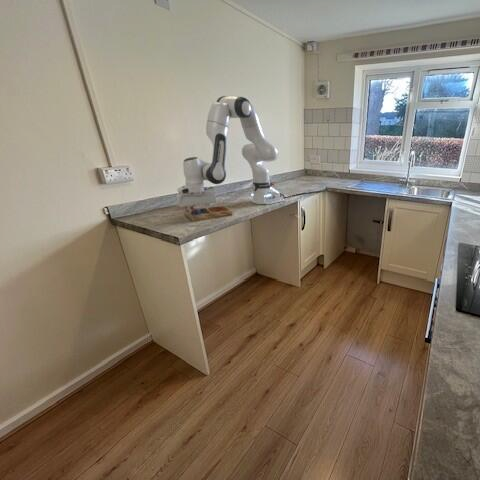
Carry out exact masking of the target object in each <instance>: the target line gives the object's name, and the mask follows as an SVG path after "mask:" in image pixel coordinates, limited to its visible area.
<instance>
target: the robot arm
mask: <svg viewBox="0 0 480 480" xmlns="http://www.w3.org/2000/svg"><path fill="white" fill-rule="evenodd" d="M207 114H208V115H207V119H206V125H205V133H206V136H207V137H208V139H209V140H210V141H211V144H212V147H213V150H212V157H211V162H208V161H205V160H202V159H201V158H199V157H197V156H192V157H191V156H190V157H188V158H184V160H183V164H182V167H183V176H184V178H185V184H184V185H182V186H179V187H177V188H176V190H177V192H178V193H176V205H177V206H178V207H180V208H184V207H185V208H186V209H187V210H189V213H190V214H192V213H193V210H190V209H189V208H190V206H193V207H195V206H202V205H206V206H205V207H203V208H204V209H205V212H206V211H208V208H209V207H210V204H216V203H217V196H216V188H215V187H213V186H205V185H204V181H206V182H207V181H208V182H210V183H211V184H214V185H220V184H223V182H225V180H226V177H227V171H226V156H227V155H226V154H227V143H228V141H227V140H228V132H229V127H230V120H231V119H239V120H240V124H241V128H242V131H243V133H244V136H245V138H246V140H247V141H248V142H250V143H247V144H244V145H242V148H241V155H242V157H243V159H245V160H246V161H247V163H248V164H249V166H250V169H251V173H252V190H253V193H251V194H250V195H251V196H252V201H251V202H252V203H253V204H257V205H272V204H277V203H283V202H284V201H285V200H284V199H289V198H291V197H295V196H300V195H306V194H313V193H314V194H315V193H322V192H326V191H327V190H326V189H325V188H323V189H321V190H316V191H315V190H314V191H307V192H308V193H306V192H300V193H301V194H300V193H296V195H295V194H292V196H291V195H287V196H285V195H284V194H282V193H281V192H280V191H279V190H277V189H276V188H274V187H273V186H275V185H276V184H275V182H271V181H270V171H269V169H268V168H267V167H266V166H264V164H263V162H265V163H270V162H275V161H276V160H277V159H278V156H279V151H278V149H277V147H276V146H275V145H273V144H272V143H271V142H270V140H268V138H266V136H265V134H264V132H263V128H262V125H261V122H260V119H259V117H258V114H257V111H256V109H255V107H254V106H253V105H252V104H251V102H250V100H249V99H248V98H246V97H244V96H238V95H222V96H219V97H218V99H217V100H216V102H213V103H212V104H211V106H210V109H209V112H208V113H207ZM194 205H195V206H194Z"/></svg>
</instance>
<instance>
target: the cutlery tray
mask: <svg viewBox="0 0 480 480" xmlns="http://www.w3.org/2000/svg"><path fill="white" fill-rule="evenodd" d="M204 208H205V207H201V208H198V209H199V210H201V213H203V214H202V215H197V214H196V211H195V208H193V213H192V214H190V213H189V210H188V209H187V210H185V211H184V212H185V216H186V217H187V218H188V219H189V220H190V221H192V222H196V221H203V220H209V219H216V218H223V217H229V216H232V215H233V212H232V211H233V210H231V209H230V208H228V207H227V206H226V205H215V206H209V208H208V211H206V212H205V209H204Z"/></svg>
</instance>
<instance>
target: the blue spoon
mask: <svg viewBox="0 0 480 480" xmlns="http://www.w3.org/2000/svg"><path fill="white" fill-rule="evenodd" d="M194 209H195V211H196V214H197V215H202V214H203V213H201V210H199V209H200V208H198V207H197V208H196V207H195V208H194Z"/></svg>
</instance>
